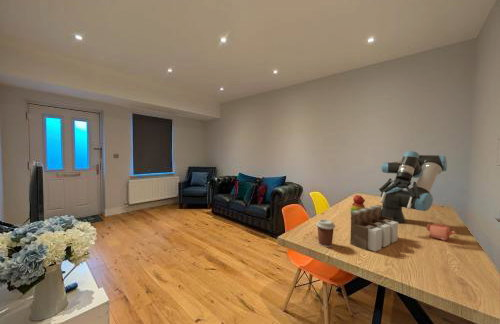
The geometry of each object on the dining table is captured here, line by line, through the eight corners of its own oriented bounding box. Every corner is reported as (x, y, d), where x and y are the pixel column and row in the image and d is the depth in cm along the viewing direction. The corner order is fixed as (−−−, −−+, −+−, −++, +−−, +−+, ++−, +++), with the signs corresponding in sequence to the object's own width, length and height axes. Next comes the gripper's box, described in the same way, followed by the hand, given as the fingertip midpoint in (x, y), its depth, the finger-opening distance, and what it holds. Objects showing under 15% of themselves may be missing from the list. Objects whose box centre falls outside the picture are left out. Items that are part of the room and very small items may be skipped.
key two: (377, 240, 110) (377, 221, 109) (389, 244, 105) (390, 224, 104) (371, 242, 107) (372, 223, 106) (384, 247, 102) (384, 227, 101)
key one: (385, 236, 115) (385, 218, 114) (397, 240, 110) (398, 221, 109) (380, 238, 112) (380, 220, 111) (392, 242, 106) (393, 223, 106)
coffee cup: (330, 240, 110) (330, 218, 109) (337, 248, 101) (338, 224, 100) (313, 240, 109) (313, 218, 109) (319, 248, 100) (320, 224, 100)
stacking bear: (368, 223, 138) (369, 197, 137) (352, 222, 140) (353, 196, 139) (363, 218, 148) (364, 194, 147) (348, 217, 150) (349, 193, 149)
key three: (368, 244, 105) (369, 224, 105) (381, 248, 100) (381, 228, 100) (362, 246, 102) (363, 226, 101) (375, 251, 97) (375, 230, 96)
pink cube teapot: (454, 244, 106) (454, 228, 105) (424, 236, 115) (425, 222, 115) (457, 240, 110) (457, 225, 110) (428, 233, 120) (429, 220, 120)
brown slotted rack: (376, 233, 120) (377, 204, 120) (392, 237, 113) (393, 207, 113) (350, 243, 105) (350, 211, 105) (366, 250, 98) (367, 215, 98)
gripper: (380, 168, 132) (369, 197, 126) (430, 173, 111) (419, 208, 106) (384, 174, 136) (373, 202, 130) (432, 180, 115) (422, 214, 110)
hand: (394, 205), depth 118 cm, fingers open, 13 cm apart
